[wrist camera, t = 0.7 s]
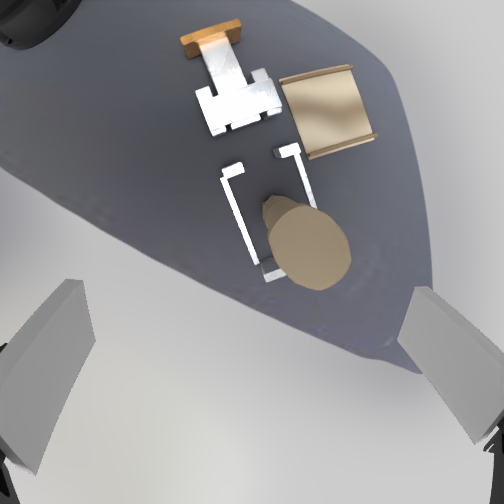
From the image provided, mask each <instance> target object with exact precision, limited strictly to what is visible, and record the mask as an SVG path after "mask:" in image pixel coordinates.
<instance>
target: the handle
mask: <svg viewBox="0 0 504 504" xmlns="http://www.w3.org/2000/svg"><path fill="white" fill-rule="evenodd" d="M262 207H263V219H264V222H265V224H266V226H267V228H268V232H267V237H268V241H269V244H270V247H271V251H272V253H273V256H274V259H275V261H276V263H277V264H278V266H279V267H280V268H281V269H282V270H283V271H284V272H285V274H286V275H287V276H288V277H289V278H290V279H292V280H293V281H294V282H295V283H297V284H299V285H301V286H304V287H307V288H310V289H313V290H316V291H319V290H323V289H326V288H328V287H330V286H332V285H334V284H335V283H336V282H338V281H339V280H340V279H341V278H342V277H343V276H344V274H345V273H346V272H347V270H348V268H349V266H350V264H351V254H350V249H349V244H348V241H347V238H346V236H345V234H344V233H343V231H342V230H341V229H340V227H339V226H338V225H337V224H336V222H335V221H334V220H333V219H332V218H331V217H330V216H329V215H327V214H326V213H324V212H322V211H320V210H318V209H316V208H314V207H311V206H309V205H307V204H304V203H296V202H295V201H293V200H292V199H290V198H287V197H284V196H276V195H271V196H270V198H269V199H268V200H267V201H265V202H263V205H262Z"/></svg>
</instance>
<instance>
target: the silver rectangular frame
mask: <svg viewBox="0 0 504 504" xmlns="http://www.w3.org/2000/svg"><path fill="white" fill-rule="evenodd" d="M273 152H274V155H275V157H276V158H284V157H287V156H290V155H293V156H294V159H295V162H296V165H297V168H298V171H299V174H300V177H301V180H302V182H303V185H304V189H305V192H306V195H307V198H308V201H309V204H310V206H311V207H314V208H316V209H317V207H316V203H315V200H314V197H313V194H312V191H311V188H310V185H309V182H308V179H307V176H306V173H305V170H304V167H303V164H302V161H301V158H300V155H299V152H301V151H300V148H299V145H298V143H290V144H286V145H283V146H281V147H278V148H275V149H273ZM222 172H223V174H224V177H222V178H220V179H221V181H222V184H223V186H224V189H225V192H226V194H227V197H228V199H229V202H230V204H231V207H232V209H233V212H234V214H235V217H236V219H237V222H238V224H239V227H240V229H241V232H242V234H243V237H244V239H245V241H246V244H247V246H248V249H249V251H250V254H251V256H252V259H253V261H254V264H255V265H256V264H259V263H260V266H261V269H262V272H263V275H264V278H265V280H266V283H267V282H269V281H272V280H275V279H277V278H280V277H283V276H285V275H286V274H285V272H284V271H283V270H282V269H281V268H280V267H279V266H278V264H277V263H276V261H275V259H274V256H273V257H270V258H267V259H265V260H262V261H260V262H259V260H258V258H257V255H256V252H255V250H254V247H253V245H252V242H251V240H250V237H249V235H248V232H247V230H246V227H245V225H244V222H243V219H242V217H241V214H240V212H239V209H238V207H237V204H236V202H235V199H234V197H233V194H232V192H231V189H230V187H229V184H228V181H227V178H230V177H233V176H235V175H238V174H240V173H243V172H244V169H243V166H242V164H241V162H236V163H233V164H231V165H228V166H226V167H223V168H222Z"/></svg>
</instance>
